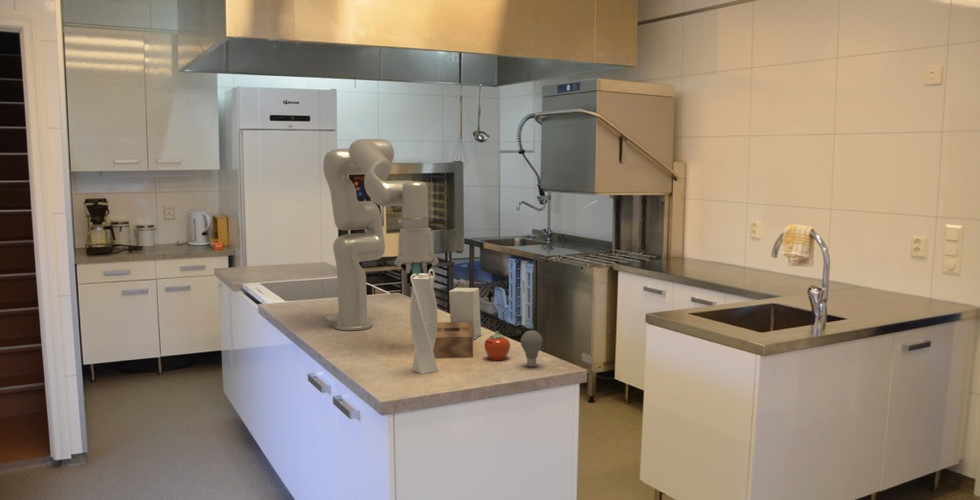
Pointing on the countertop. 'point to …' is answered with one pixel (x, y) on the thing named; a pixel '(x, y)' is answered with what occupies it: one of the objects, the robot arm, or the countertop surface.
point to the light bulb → (531, 346)
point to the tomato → (497, 346)
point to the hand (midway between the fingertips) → (417, 285)
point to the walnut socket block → (453, 340)
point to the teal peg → (416, 269)
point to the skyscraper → (423, 322)
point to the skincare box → (466, 308)
